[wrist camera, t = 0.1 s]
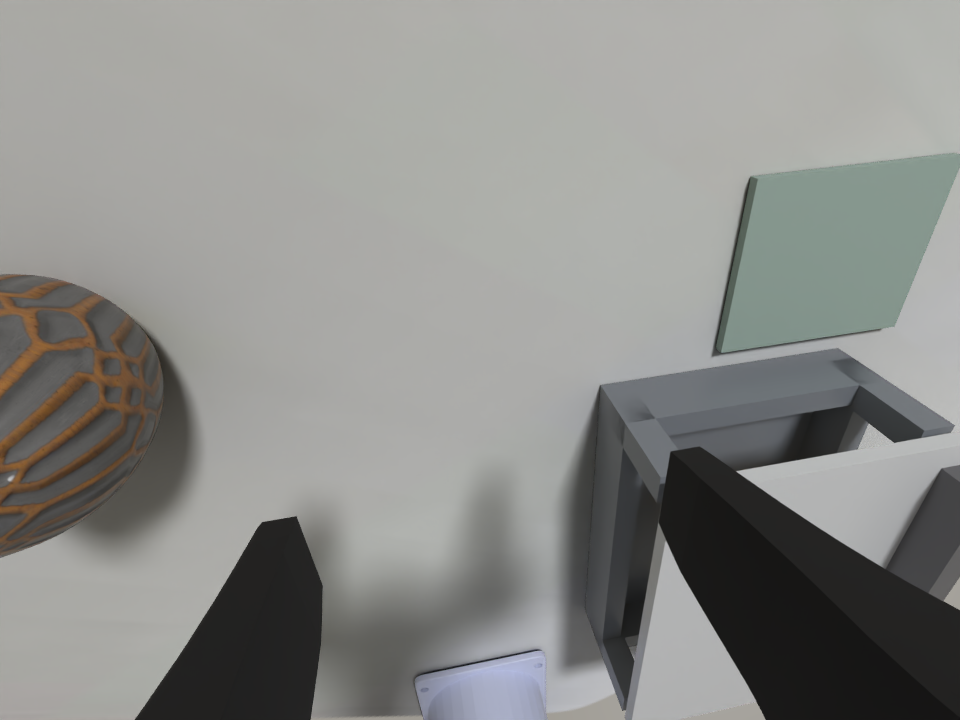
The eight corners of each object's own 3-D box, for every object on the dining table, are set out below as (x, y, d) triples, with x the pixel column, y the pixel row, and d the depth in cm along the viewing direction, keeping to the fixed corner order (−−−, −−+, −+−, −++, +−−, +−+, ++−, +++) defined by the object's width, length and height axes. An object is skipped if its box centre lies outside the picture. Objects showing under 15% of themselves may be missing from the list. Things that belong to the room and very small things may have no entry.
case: (758, 573, 31) (824, 665, 27) (584, 608, 30) (622, 710, 26) (838, 348, 23) (955, 425, 18) (600, 385, 22) (660, 477, 17)
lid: (828, 670, 26) (862, 717, 25) (624, 717, 25) (644, 770, 23) (963, 430, 18) (1029, 474, 16) (665, 483, 17) (699, 538, 15)
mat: (886, 322, 23) (894, 326, 22) (715, 348, 22) (721, 353, 21) (954, 152, 19) (964, 155, 18) (751, 176, 18) (757, 178, 18)
